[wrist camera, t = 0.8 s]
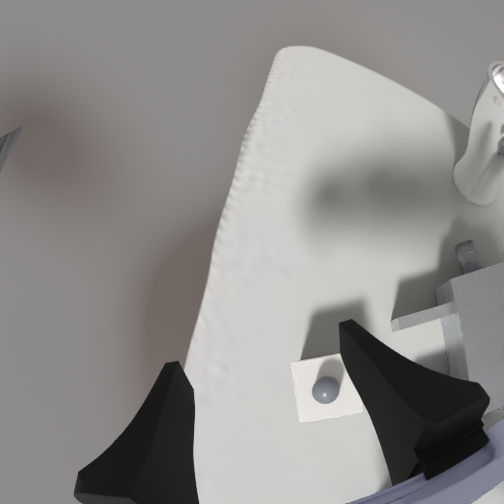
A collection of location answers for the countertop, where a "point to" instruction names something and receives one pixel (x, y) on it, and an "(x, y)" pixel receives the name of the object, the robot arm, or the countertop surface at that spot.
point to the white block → (324, 389)
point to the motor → (470, 323)
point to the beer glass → (484, 143)
